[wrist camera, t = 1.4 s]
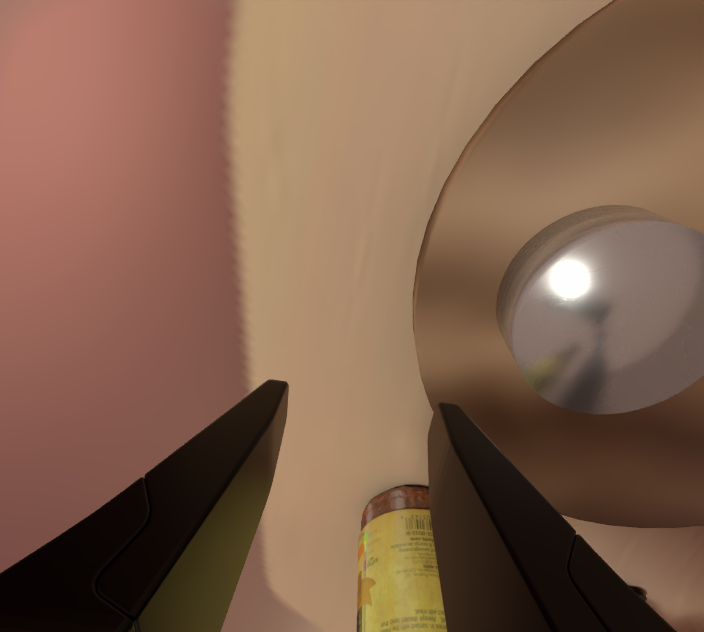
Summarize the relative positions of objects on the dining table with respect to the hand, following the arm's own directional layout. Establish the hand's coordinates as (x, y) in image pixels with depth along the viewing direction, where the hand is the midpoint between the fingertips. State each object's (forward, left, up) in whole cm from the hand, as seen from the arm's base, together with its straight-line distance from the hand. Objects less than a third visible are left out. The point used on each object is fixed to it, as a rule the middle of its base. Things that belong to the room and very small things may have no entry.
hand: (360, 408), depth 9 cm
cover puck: (0, -8, -8) cm, 12 cm away
